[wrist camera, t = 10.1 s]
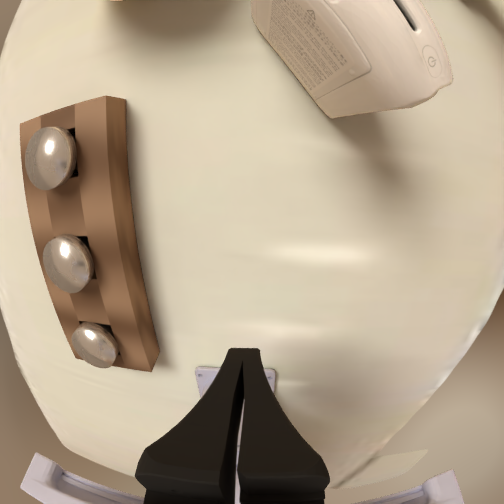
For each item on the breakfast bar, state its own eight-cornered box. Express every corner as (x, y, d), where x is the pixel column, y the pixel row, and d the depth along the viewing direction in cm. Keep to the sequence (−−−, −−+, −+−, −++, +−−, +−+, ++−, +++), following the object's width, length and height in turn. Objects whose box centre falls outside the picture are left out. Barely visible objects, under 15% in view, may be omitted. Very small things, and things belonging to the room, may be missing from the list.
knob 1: (101, 175, 19) (69, 186, 15) (61, 181, 19) (28, 193, 15) (98, 120, 17) (65, 120, 13) (57, 131, 18) (23, 134, 14)
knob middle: (116, 268, 22) (92, 295, 18) (77, 267, 22) (51, 291, 18) (107, 219, 21) (78, 238, 17) (67, 221, 21) (37, 239, 17)
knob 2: (135, 341, 25) (119, 371, 21) (99, 336, 26) (81, 363, 21) (124, 304, 24) (104, 333, 20) (87, 300, 24) (65, 326, 20)
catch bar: (159, 351, 26) (151, 372, 23) (87, 341, 26) (75, 358, 24) (125, 99, 17) (106, 95, 14) (41, 122, 17) (19, 124, 15)
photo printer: (375, 101, 17) (494, 82, 5) (329, 129, 18) (423, 125, 7) (292, -5, 14) (319, -112, 2) (243, 20, 15) (224, -90, 3)
